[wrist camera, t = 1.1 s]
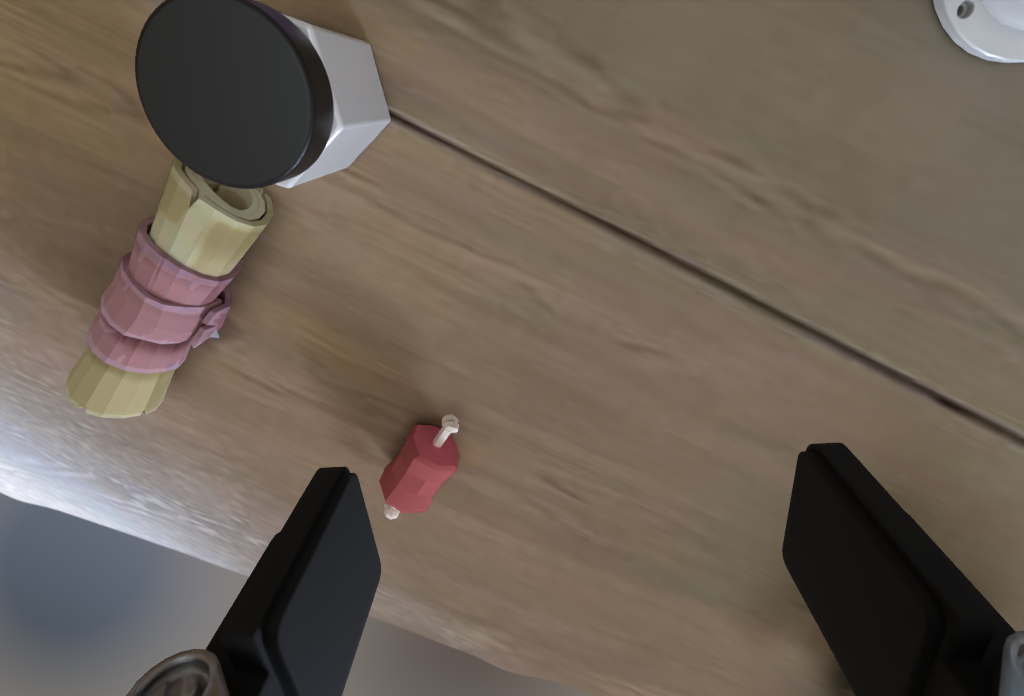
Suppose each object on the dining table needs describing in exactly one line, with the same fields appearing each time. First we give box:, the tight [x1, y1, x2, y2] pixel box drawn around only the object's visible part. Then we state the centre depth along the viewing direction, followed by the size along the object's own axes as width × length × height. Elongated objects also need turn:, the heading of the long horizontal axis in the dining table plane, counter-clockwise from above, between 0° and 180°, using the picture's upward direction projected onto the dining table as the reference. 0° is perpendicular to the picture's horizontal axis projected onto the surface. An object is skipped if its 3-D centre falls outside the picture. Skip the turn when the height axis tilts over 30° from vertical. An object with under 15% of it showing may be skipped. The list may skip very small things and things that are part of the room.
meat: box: [380, 414, 460, 519], centre depth 44 cm, size 12×5×5 cm, turn 148°
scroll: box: [65, 159, 274, 418], centre depth 37 cm, size 8×8×20 cm
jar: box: [135, 0, 391, 189], centre depth 29 cm, size 9×8×12 cm
